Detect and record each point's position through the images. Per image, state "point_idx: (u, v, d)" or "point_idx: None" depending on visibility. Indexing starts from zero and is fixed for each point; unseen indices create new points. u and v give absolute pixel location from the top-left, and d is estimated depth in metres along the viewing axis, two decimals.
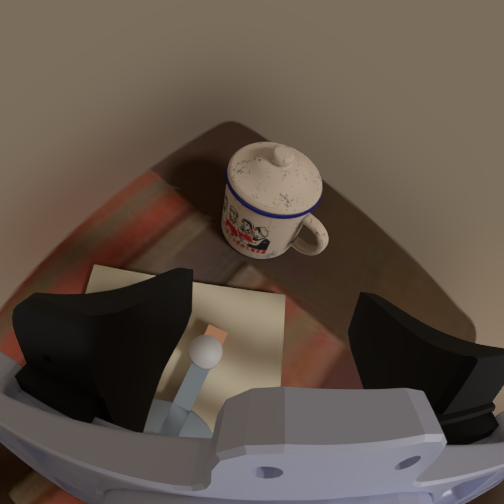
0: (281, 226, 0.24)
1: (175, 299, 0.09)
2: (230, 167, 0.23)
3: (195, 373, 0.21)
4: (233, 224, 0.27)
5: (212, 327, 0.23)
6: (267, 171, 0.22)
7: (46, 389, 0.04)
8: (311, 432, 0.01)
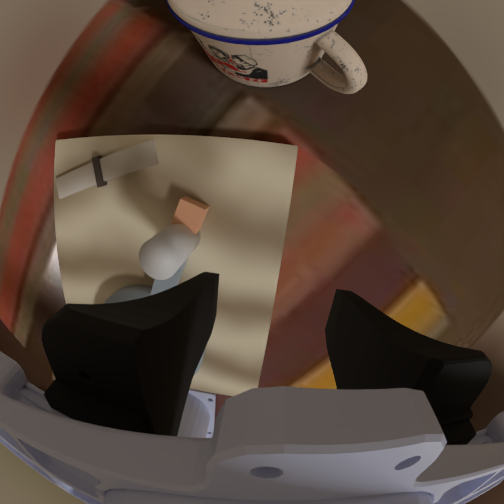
0: (274, 52, 0.10)
1: (205, 304, 0.09)
2: None
3: None
4: (205, 49, 0.12)
5: (184, 203, 0.17)
6: None
7: (83, 408, 0.04)
8: (311, 432, 0.01)
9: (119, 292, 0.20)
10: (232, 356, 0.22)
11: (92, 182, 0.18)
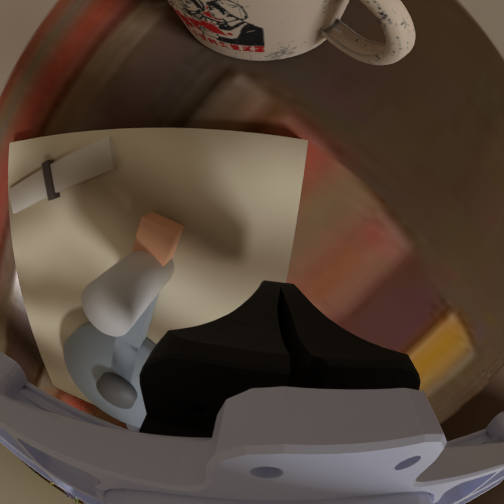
0: None
1: None
2: None
3: None
4: (174, 7, 0.07)
5: (147, 223, 0.12)
6: None
7: None
8: (311, 431, 0.01)
9: (81, 330, 0.15)
10: None
11: (43, 194, 0.13)
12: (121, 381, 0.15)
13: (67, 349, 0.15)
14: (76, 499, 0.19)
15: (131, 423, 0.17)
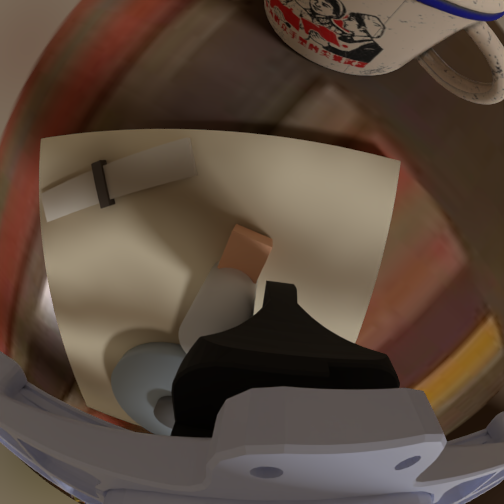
0: (423, 25, 0.05)
1: None
2: None
3: None
4: (288, 4, 0.07)
5: (239, 237, 0.11)
6: None
7: None
8: (311, 432, 0.01)
9: (138, 354, 0.14)
10: None
11: (93, 200, 0.12)
12: None
13: (117, 374, 0.15)
14: None
15: None
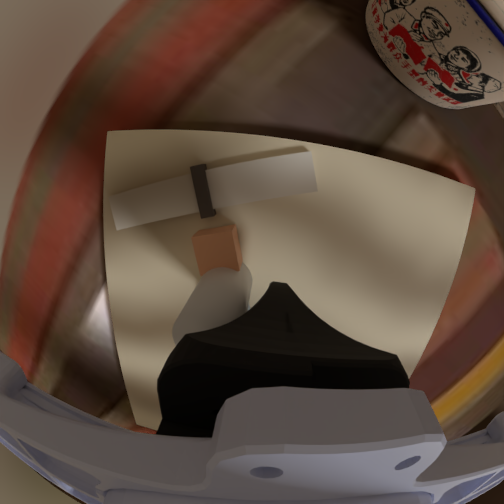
0: None
1: None
2: None
3: None
4: (420, 42, 0.07)
5: (200, 239, 0.12)
6: None
7: None
8: (311, 432, 0.01)
9: None
10: None
11: (188, 208, 0.12)
12: None
13: None
14: None
15: None
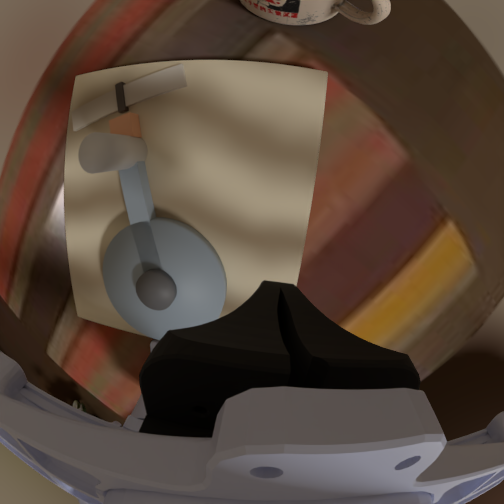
0: None
1: None
2: None
3: (128, 177, 0.17)
4: None
5: (113, 120, 0.16)
6: None
7: None
8: (311, 432, 0.01)
9: None
10: None
11: (113, 108, 0.16)
12: (153, 270, 0.19)
13: (107, 282, 0.20)
14: None
15: None
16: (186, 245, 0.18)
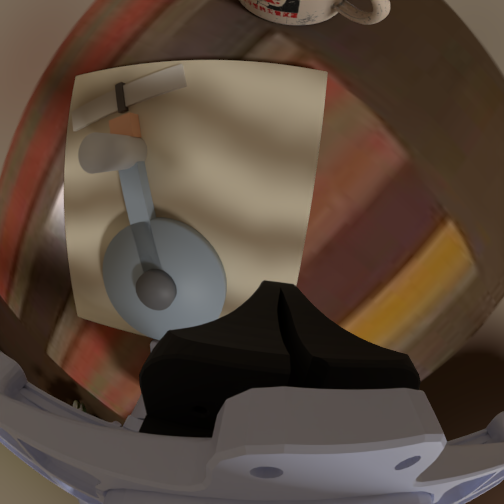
0: None
1: None
2: None
3: (128, 177, 0.17)
4: None
5: (113, 120, 0.16)
6: None
7: None
8: (311, 432, 0.01)
9: (108, 247, 0.19)
10: None
11: (112, 108, 0.16)
12: (153, 270, 0.19)
13: (107, 282, 0.20)
14: None
15: None
16: (186, 245, 0.18)
